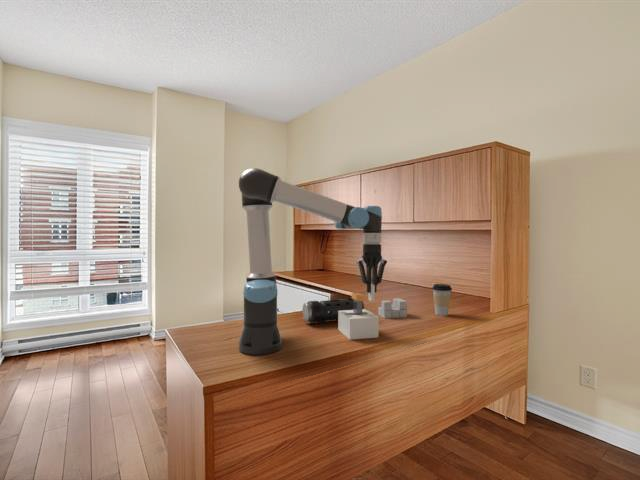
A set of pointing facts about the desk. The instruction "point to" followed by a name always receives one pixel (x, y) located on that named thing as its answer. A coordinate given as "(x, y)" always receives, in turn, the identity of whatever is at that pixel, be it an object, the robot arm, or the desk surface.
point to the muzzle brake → (325, 309)
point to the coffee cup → (441, 298)
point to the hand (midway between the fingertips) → (371, 300)
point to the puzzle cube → (393, 308)
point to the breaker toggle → (357, 302)
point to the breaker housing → (358, 324)
